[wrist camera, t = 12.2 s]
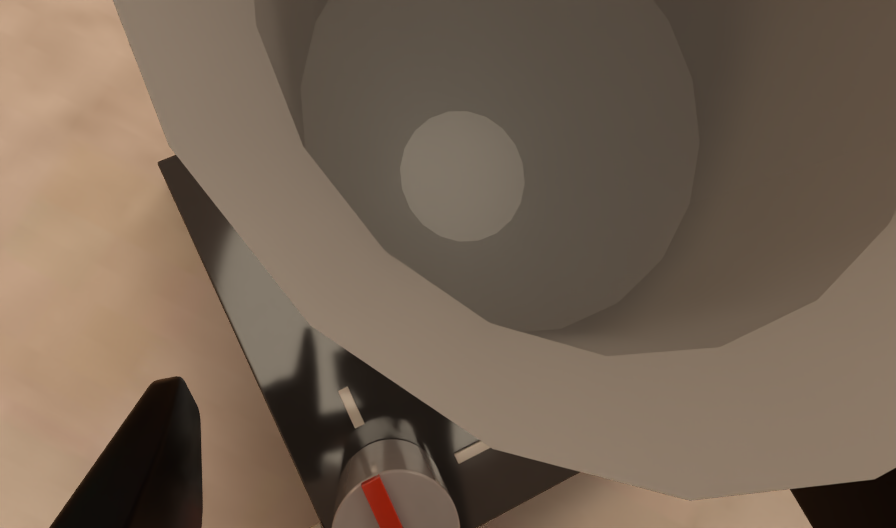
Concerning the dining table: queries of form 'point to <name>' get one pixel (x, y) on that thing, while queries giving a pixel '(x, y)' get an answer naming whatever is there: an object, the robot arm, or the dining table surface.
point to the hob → (339, 384)
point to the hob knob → (393, 490)
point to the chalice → (571, 214)
